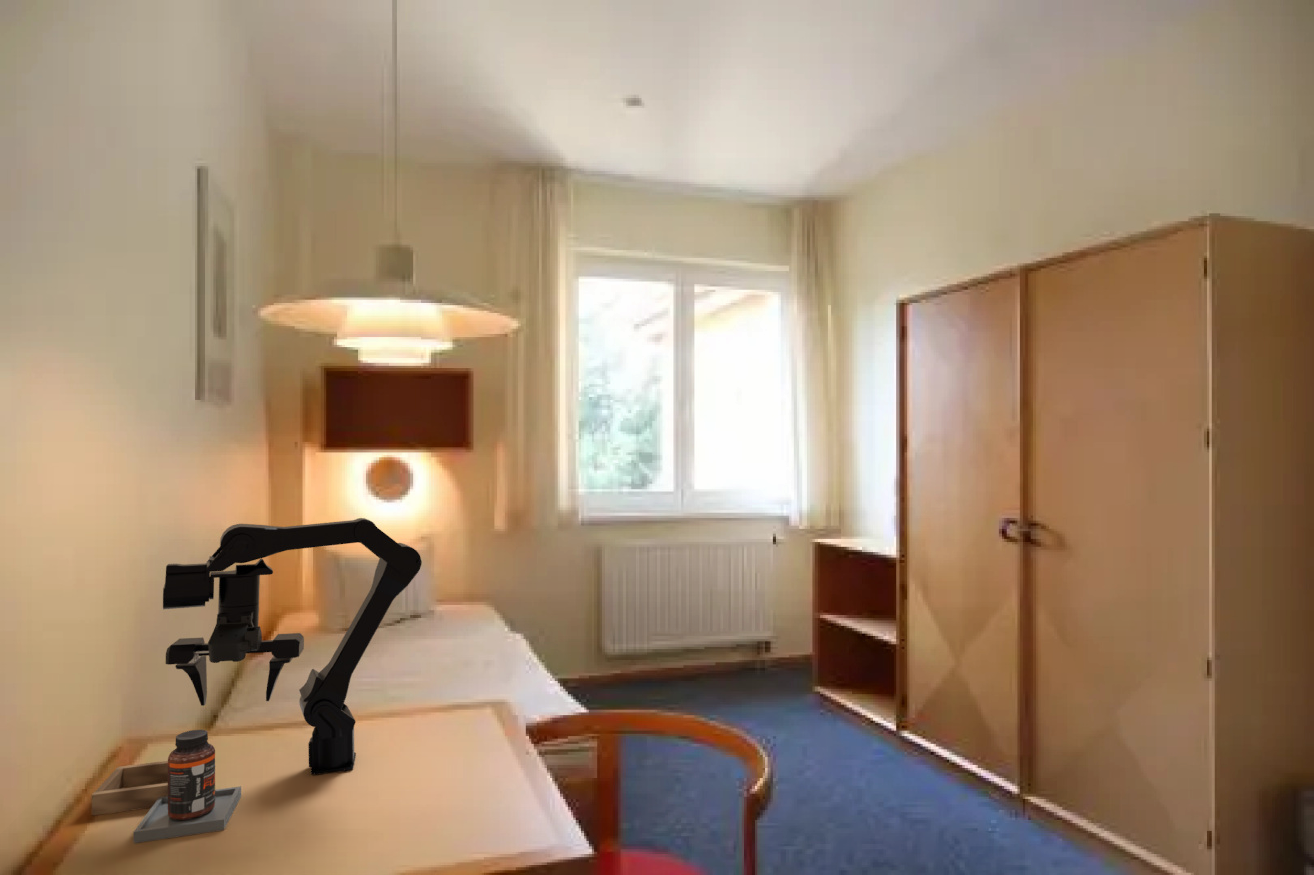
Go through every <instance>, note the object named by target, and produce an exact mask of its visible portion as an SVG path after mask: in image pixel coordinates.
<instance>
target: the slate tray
mask: <svg viewBox="0 0 1314 875" xmlns="http://www.w3.org/2000/svg"><path fill="white" fill-rule="evenodd" d="M241 797H242V786H241V785H240V786H233V787H226V788H217V789H215V806H214V808H213V809H212V810H211V811H209V812H208V813H206V814H205V815H202V816H200V817H197V818H193V819H187V820H174V819H172V818H170V817H169V815H168V796H164V797H159V798H158V800H157V801H156V802H155V804H154V805H153V806H152V808H150V809H149V810H148V812H147V813H146V815H145V816H144V817H143V819H142V820H141V821H140V822H139V823H138V826H136V828H135V829H134V830H133V834H132V835H133V844H136V843H137V844H138V843H145V842H152V841H159V840H164V839H171V837H172V838H177V837H178V838H179V837H185V836H192V835H199V834H207V833H213V832H219V831H224V830H225V829H226V827H227V825H228V823H229V821H230V819H231V817H232V815H233V812H234V811H235V809H236V807H237V805H238V803H239V801H240V799H241ZM206 832H207V833H206Z"/></svg>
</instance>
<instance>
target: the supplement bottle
mask: <svg viewBox="0 0 1314 875" xmlns="http://www.w3.org/2000/svg"><path fill="white" fill-rule="evenodd" d="M208 733H209V732H208V731H207V730H206V729H193V730H188V731H185V732H184V731H183V732H181V733H178V734H177V735H176V736H175V744H174V745H175V747H176V748H175V749H173V750H172V751H171V752H170V753H169V755H168V758H167V761H168V782H167V783H168V815H169V817H170V818H172V819H174V820H187V819H193V818H197V817H200V816H202V815H205V814H206V813H208V812H209V811H211V810H212V809H213V808H214V806H215V790H216V748H215V747H214V745H212V744H211V743H209V742H208V741H209V737H208Z"/></svg>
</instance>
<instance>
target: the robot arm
mask: <svg viewBox="0 0 1314 875" xmlns="http://www.w3.org/2000/svg"><path fill="white" fill-rule="evenodd" d="M219 539H220V540H219V547H218V548H217V549H216V550H215V551H214V553H213V554H212V555H210V556H208V557H209V558H208V559H207V561H206V563H187V564H185V563H184V564H182V563H168V564H166V566H165V580H164V586H163V589H162V609H163V610H174V609H186V608H187V609H188V608H203V607H206V603H208V602H210V600H214V598H215V597H214V596H215V592H214V591H215V578H218V606H217V607H218V608H217V614H216V623H215V627H214V628H213V630H212V633H211V635H210V638H209V640H208V641H207V643H205V639H204V637H189V638H188V637H187V638H184V637H183V638H178V639H177V640H176V641H174V642H173V643H172V644H170V645H169V646H168V647H167V648H166V652H165V665H175V666H174V667H175V669H176V670H182V671H184V672H185V673H186V674H187V676H188V677H189V679H190V681H191V683H192V685H193V687H194V690H195V693H196V695H197V698H198V700H199V703H200V706H201V707H203V706H206V704H207V697H208V681H207V680H208V679H207V676H208V674H207V656H208V659H209V662H210V663H214V664H217V663H220V662H233V663H235V662H241V661H243V660H245V658H246V657H247V656H246V655H247V654H261V653H271V655H272V657H271V659H270V660H269V661H268V662H269V664H268V665H269V667H268V668H269V670H268V676H267V677H268V678H267V685H266V691H265V701H266V702H270V700H271V697H272V695H273V692H274V690H275V687H276V684H277V682H278V679H279V676H280V673H281V671H282V669H283V667H284V666H285V664H290V663H291V661H292V660H293V659H295V658H299V657H300V655H301V654H302V653H303V651H304V650H305V648H304V647H305V636H304V635H303V634H302V633H301V632H293V633H278V634H277V635H276V636H275V637H274V639H269V640H262V638H263V636H262V635H263V634H262V633H263V632H262V629H261V626H259V623H260V622H259V619H260V617H259V614H260V586H261V585H260V583H261V581H260V580H261V576H270V575H272V574H274V570H273V568H272V567H270V566H269V565H268V564H267V563H266V562H265V560H264V558H267V557H269V556H272V555H273V556H274V555H275V554H278V553H283V552H285V551H292V550H293V551H294V550H301V549H302V550H303V549H310V548H319V547H329V546H338V545H347V544H355V543H359V544H361V545H363V547H365V548H366V549H367V550H368V551H370V552H371V553H372V554H374V555H375V556H376V557H378V558H379V559H378V563H377V566H376V568H375V571H374V574H373V575H374V576H373V579H372V584H371V587H370V590H369V591H368V593H367V595H366V596H365V599H364V600H363V601H362V604H361V606H360V607H359V609H358V611H357V613H355V616H354V618H353V619H352V621H351V623H350V625H349V627H348V628H347V630H346V632H345V634H344V636H343V637H342V639H341V641H340V642H339V644H338V646H337V648H336V650H335V652H334V653H333V655H332V657H331V659H330V660H329V662H328V663H327V664H326V665H325V666H324V667H323V668H322V669H321V670H320V671H318V670H316V669H314V668H312V669H311V670H310V673H309V675H308V677H307V680H306V682H305V683H304V685H303V686H302V687H301V688H299V690H298V691H299V693H300V697H299V707H300V710H301V713H302V715H303V718H304V721H305V722H306V723H307V724H308V725H309V726H310V727H313V731H312V733H311V737H310V738H309V742H308V743H307V744H308V745H307V746H308V767H309V768H311V769H310V775H314V776H315V775H319V774H328V773H335V772H344V771H350V770H353V769H354V766H355V762H356V757H357V753H356V752H355V725H356V719H355V717H354V715H353V713H352V712H351V710H350V708H349V706H348V705H346V704H345V700H346V698H347V695H348V691H349V688H350V687H349V686H350V683H351V682H350V681H351V678H352V676H353V673H354V671H355V670H356V668H357V666H358V664H360V661H361V659H362V657H363V655H364V654H365V652H366V650H367V648H368V646H369V645H370V643H371V641H372V639H373V637H374V636H375V633H376V632H377V630H378V629H379V626H380V625H381V623H382V621H383V619H384V617H385V615H386V614H387V612H388V610H389V608H390V607H391V605H392V603H393V601H394V600H395V599H396V597H398V596H399V595H400V594H401V593H402V592H403V591H404V590H405V589H406V588H407V587H408V586H409V585H410V583H411V582H412V581H413V579H414V578H415V577H416V575H417V574H418V573H419V572H420V570H421V567H422V558H421V555H420V553H419V552H418V551H417V550H416V549H415V548H414V547H412V546H410V545H408V544H405V543H402V542H397V541H396V540H394V539H393V538H391V537H390V536H389V535H388V534H386V533H385V532H384V531H383V530H382V529H380V528H379V527H377V525H376V524H375V523H374V522H373V521H371V520H370V519H367V518H364V517H363V518H362V517H360V518H356V519H352V520H351V519H350V520H342V521H332V522H321V523H310V524H301V525H300V524H298V525H291V526H288V525H287V526H278V525H276V526H275V525H266V524H256V523H255V524H252V523H251V524H250V523H236V524H233V525H230V526H229V527H228V528H226V529H225V530H224V531H223V533H222V534H221V537H220V538H219ZM256 560H258V561H257V562H256V563H249V562H253V561H256ZM245 563H247V564H245ZM234 564H236V565H235V569H233V570H226V569H229V567H231V566H233V565H234Z"/></svg>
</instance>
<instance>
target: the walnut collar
mask: <svg viewBox="0 0 1314 875" xmlns="http://www.w3.org/2000/svg"><path fill="white" fill-rule="evenodd" d="M128 786H130V787H128ZM164 796H168V760H162V761H154V762H148V763H147V762H146V763H138V764H129V765H123V766H122V765H121V766H117V767H116V768H115V770H114V771H113V772H112V773H111V774H110V775H109V776H108V777H107V778H106V779H105V780H104V781H103V782H102V783H101V785H99V787H98V788H97V789H96V790H95V791H94V792H92V794H91V816H92V815H93V816H100V815H107V814H113V813H121V812H128V811H136V810H137V811H138V810H143V809H149V808H150V809H151V808H152V806H153V805H154V804H155V802H156V801H157V800H158V798H159V797H164Z"/></svg>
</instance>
